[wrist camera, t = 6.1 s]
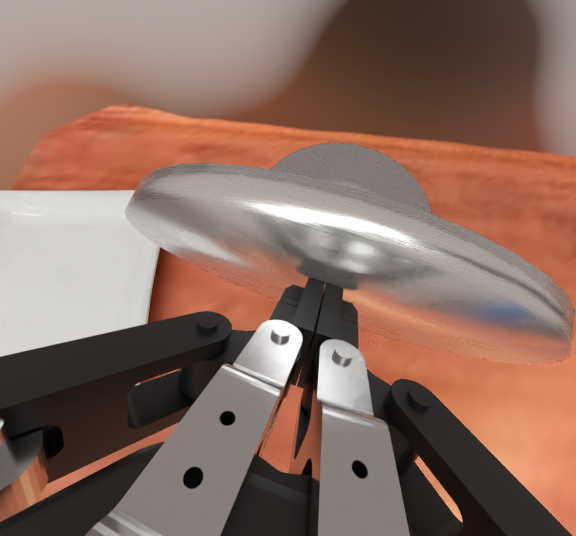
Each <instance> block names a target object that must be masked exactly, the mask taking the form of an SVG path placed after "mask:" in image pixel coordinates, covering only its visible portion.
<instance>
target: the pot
mask: <svg viewBox="0 0 576 536" xmlns="http://www.w3.org/2000/svg"><path fill="white" fill-rule="evenodd" d="M270 170H275V171H281V172H287V173H293V174H299V175H304V176H308V177H312V178H316V179H320V180H324V181H328V182H332V183H336V184H340V185H344V186H348V187H352V188H356V189H360V190H363V191H366V192H369V193H372V194H375V195H378V196H381V197H384V198H387V199H390V200H394V201H397V202H400V203H403V204H406V205H409V206H412V207H415V208H418V209H420V210H423V211H425V212H428V213H430V214H432V212H431V208H430V205H429V202H428V199H427V197H426V195H425V193H424V191H423V190H422V188H421V187H420V185H419V184H418V182H417V181H416V180H415V179H414V177H413V176H412V175H411V174H410V173H409V172H408V171H407V170H406V169H405V168H404V167H403V166H401V165H400V164H399V163H397V162H396V161H394V160H393V159H391V158H389V157H388V156H386V155H384V154H382V153H380V152H378V151H375V150H373V149H370V148H367V147H363V146H359V145H354V144H346V143H326V144H319V145H314V146H310V147H306V148H303V149H300V150H298V151H296V152H294V153H292V154H290V155H288V156H287V157H285V158H283V159H282V160H281V161H279V162H278V163H277V164H275V165H274V166H273V167H272V168H271V169H270Z"/></svg>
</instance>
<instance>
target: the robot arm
mask: <svg viewBox="0 0 576 536" xmlns="http://www.w3.org/2000/svg"><path fill="white" fill-rule="evenodd" d="M324 285H325V282H322V281H319V280H316V279H313V278H310V277H309V278H308V280H307V283H306V286H305V288H303V287H300V286H297V285H294V284H293V285H291V286H289V287H287V288H285V290H284V292H283V294H282V296H281V298H280V300H279V302H278V304H277V306H276V308H275V310H274V312H273V314H272V316H271V318H270V320H269V321H266V322H264V323H262V324H261V325H260V326H259V328H258V329H257V330H254V331H239V330H232V325H231V323H230V321H229V320H228V319H227V318H226V317H225V316H223V315H221V314H218V313H215V312H207V311H205V312H197V313H193V314H188V315H184V316H179V317H175V318H170V319H166V320H162V321H157V322H153V323H148V324H144V325H139V326H135V327H130V328H126V329H121V330H117V331H112V332H108V333H104V334H99V335H95V336H90V337H86V338H81V339H77V340H72V341H68V342H63V343H59V344H54V345H50V346H46V347H41V348H37V349H32V350H28V351H23V352H19V353H14V354H10V355H5V356H1V357H0V536H572V535H571V534H570V533H569V532H568V531H567V530H566V529H565V528H564V527H563V526H562V525H561V524H560V523H559V522H558V521H557V520H556V519H555V517H554V516H553V515H552V514H551V513H550V512H549V511H548V510H547V509H546V508H545V507H544V506H543V505H542V504H541V503H540V502H539V501H538V500H537V499H536V498H535V497H534V496H533V495H532V494H531V493H530V492H529V491H528V490H527V489H526V488H525V487H524V486H523V485H522V484H521V483H520V482H519V481H518V480H517V479H516V478H515V477H514V476H513V475H512V474H511V473H510V472H509V471H508V470H507V469H506V468H505V467H504V466H503V465H502V463H501V462H500V461H499V460H498V459H497V458H496V457H495V456H494V455H493V454H492V453H491V452H490V451H489V450H488V449H487V448H486V447H485V446H484V445H483V444H482V443H481V442H480V441H479V440H478V439H477V438H476V437H475V436H474V435H473V434H472V433H471V432H470V431H469V430H468V429H467V428H466V427H465V426H464V425H463V424H462V423H461V422H460V421H459V420H458V419H457V418H456V417H455V416H454V415H453V414H452V413H451V412H450V411H449V409H448V408H447V407H446V406H445V405H444V404H443V403H442V402H441V401H440V400H439V399H438V398H437V397H436V396H435V395H434V394H433V393H432V392H431V391H429V390H428V389H427V388H425V387H424V386H422V385H420V384H419V383H416V382H414V381H411V380H407V379H399V380H397V381H395V382H394V383H393V384H392V386H391V385H389V384H388V383H386V382H384V381H383V380H381V379H379V378H378V377H376V376H375V375H373V374H372V373H371V372H370V371H369V370H368V369H367V368H366V362H365V359H364V357H363V355H362V354H361V352H360V351H359V350H358V311H357V310H356V308H355V306H354V305H353V303H350V302H347V301H344V300H343V288H341V287H338V286H335V285H332V284H329V283H326V285H325V288H324ZM323 290H324V291H323ZM301 368H302V369H301ZM176 369H179V371H176V372H173V373H170V374H167V375H165V376H162V377H159V378H156V379H153V380H150V381H147V382H145V383H142V384H139V385H136V384H138V383H140V382H141V381H144V380H147V379H150V378H153V377H155V376H158V375H161V374H164V373H167V372H170V371H173V370H176ZM300 370H301V373H300ZM299 373H300V377H299V381H298V385H297V386H298V387H301V388H304V390H303V394H302V398H301V401H300V403H299V406H298V410H297V417H296V424H295V432H294V439H293V447H292V454H291V461H290V468H289V473H283V472H280V471H278V470H277V469H275V468H274V467H273V466H271V465H270V464H269V463H267V462H266V461H265V460H263V459H262V458H261V456H262V454H263V451H264V449H265V446H266V444H267V441H268V438H269V436H270V433H271V431H272V428H273V426H274V423H275V420H276V418H277V415H278V413H279V410H280V408H281V405H282V402H283V399H284V398H285V397H286V396H287V393H288V391H289V388H290V385H291V384H292V385H296V382H297V379H298V376H299ZM135 385H136V386H135ZM178 422H179V424H178V425H177V426H176V428H175V429H174V430H173V432H172V433H171V434H170V436H169V437H168V438H167V440H166V441H165V442H161V443H157V444H154V445H150V446H148V447H145V448H143V449H140V450H138V451H136V452H134V453H132V454H130V455H128V456H126V457H124V458H122V459H120V460H118V461H116V462H114V463H112V464H110V465H109V466H107V467H105V468H103V469H101V470H99V471H97V472H95V473H93V474H91V475H89V476H87V477H86V478H84V479H82V480H80V481H78V482H76V483H74V484H72V485H70V486H68V487H66V488H64V489H63V490H61V491H59V492H57V493H55V494H53V495H51V496H49V497H47V498H45V499H43V500H41V501H40V502H38V503H36V504H34V505H32V504H33V503H34V502H35V501H36V500H37V498H38V497H39V496H40V494H41V493H42V491H43V490H44V488H45V486H46V484H48V483H50V482H52V481H54V480H56V479H59V478H61V477H63V476H65V475H67V474H69V473H71V472H74V471H76V470H78V469H80V468H82V467H84V466H86V465H88V464H91V463H93V462H95V461H97V460H99V459H101V458H103V457H105V456H108V455H110V454H112V453H114V452H116V451H118V450H120V449H123V448H125V447H127V446H129V445H131V444H133V443H135V442H137V441H140V440H142V439H144V438H146V437H148V436H150V435H152V434H155V433H157V432H159V431H161V430H163V429H165V428H167V427H169V426H172V425H174V424H176V423H178ZM418 456H420V458H421V459H422V460H423V462H424V463H425V464H426V466H427V467H428V468H429V469H430V471H431V472H432V473H433V475H434V476H435V477H436V479H437V480H438V481H439V482H440V484H441V485H442V486H443V488H444V489H445V490H446V491H447V493H448V494H449V495H450V497H451V498H452V499H453V501H454V502H455V503H456V505H457V507H458V508H459V510H460V513H461V515H462V519H463V523H462V522H461V521H459V520H458V519H457V518H456V517H455V516H454V514H453V513H452V512H451V510H450V509H449V508H448V506H447V505H446V504H445V502H444V501H443V500H442V498H441V497H440V496H439V494H438V493H437V492H436V490H435V489H434V488H433V486H432V485H431V484H430V482H429V481H428V480H427V478H426V477H425V475H424V474H423V473H422V471H421V470H420V469H419V467H418V466H417V465H416V463H415V462H414V461H415V460H416V459H417V457H418ZM31 505H32V506H31Z"/></svg>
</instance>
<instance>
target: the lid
mask: <svg viewBox="0 0 576 536" xmlns="http://www.w3.org/2000/svg"><path fill="white" fill-rule="evenodd" d="M125 215H126V218H127V219H128V221H129V222H130V224H131V225H132V226H133V227H134V228H135V229H136V230H137V231H138V232H140V233H141V234H142V235H144V236H145V237H146V238H147V239H149V240H150V241H152V242H153V243H155V244H156V245H158V246H160V247H161V248H163V249H164V250H166V251H168V252H170V253H171V254H173V255H175V256H177V257H179V258H180V259H182V260H184V261H186V262H188V263H190V264H192V265H194V266H196V267H198V268H200V269H202V270H204V271H206V272H208V273H210V274H213V275H215V276H217V277H219V278H221V279H224V280H226V281H228V282H230V283H233V284H235V285H237V286H240V287H242V288H245V289H247V290H249V291H252V292H254V293H257V294H259V295H262V296H264V297H267V298H269V299H272V300H275V301H277V302H279V300H280V298H281V296H282V294H283V292H284V290H285V288H287V287H289V286H291V285H293V284H294V285H297V286H300V287H303V288H305V286H306V283H307V280H308V278H309V277H310V278H313V279H316V280H319V281H322V282H325V285H326V283H329V284H332V285H335V286H338V287H341V288H343V300H344V301H347V302H350V303H353V305H354V306H355V308H356V310H357V311H358V329H360V330H363V331H366V332H370V333H373V334H377V335H380V336H384V337H387V338H391V339H395V340H398V341H402V342H406V343H410V344H414V345H418V346H422V347H426V348H430V349H434V350H439V351H443V352H448V353H453V354H457V355H462V356H468V357H473V358H479V359H485V360H492V361H498V362H507V363H516V364H552V363H557V362H562V361H563V360H565V359H566V358H568V357H569V356H570V349H571V340H572V331H573V322H574V313H575V309H574V307H573V305H572V303H571V301H570V299H569V297H568V295H567V294H566V293H565V292H564V291H563V290H562V289H561V288H560V287H559V286H558V285H557V284H556V283H555V282H554V281H553V280H552V279H551V278H550V277H549V276H548V275H546V274H545V273H544V272H542V271H541V270H539V269H538V268H536V267H535V266H533V265H532V264H530V263H529V262H527V261H526V260H525V259H523V258H522V257H520V256H519V255H517V254H516V253H514V252H512V251H510V250H508V249H506V248H504V247H502V246H500V245H498V244H496V243H494V242H492V241H491V240H489V239H487V238H485V237H483V236H481V235H479V234H477V233H475V232H473V231H471V230H469V229H466V228H464V227H462V226H459V225H457V224H454V223H452V222H449V221H447V220H445V219H442V218H440V217H437V216H435V215H432V214H430V213H428V212H425V211H423V210H420V209H418V208H415V207H412V206H409V205H406V204H403V203H400V202H397V201H394V200H390V199H387V198H384V197H381V196H378V195H375V194H372V193H369V192H366V191H363V190H360V189H356V188H352V187H348V186H344V185H340V184H336V183H332V182H328V181H324V180H320V179H316V178H312V177H308V176H304V175H299V174H293V173H287V172H281V171H275V170H269V169H263V168H257V167H251V166H240V165H227V164H213V163H200V164H178V165H173V166H169V167H164V168H160V169H156V170H154V171H152V172H151V173H149V174H147V175H145V176H144V177H143V178H142V180H141V181H140V183H139V184H138V186H137V188H136V190H135V192H134V194H133V196H132V197H131V199H130V201H129V203H128V205H127V207H126V209H125ZM325 285H324V288H325ZM323 291H324V290H323Z"/></svg>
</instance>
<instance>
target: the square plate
mask: <svg viewBox="0 0 576 536" xmlns="http://www.w3.org/2000/svg"><path fill="white" fill-rule="evenodd" d="M134 192H135V190H95V191H94V190H86V191H12V190H11V191H0V357H1V356H5V355H10V354H14V353H19V352H23V351H28V350H32V349H37V348H41V347H46V346H50V345H54V344H59V343H63V342H68V341H72V340H77V339H81V338H86V337H90V336H95V335H99V334H104V333H108V332H112V331H117V330H121V329H126V328H130V327H135V326H139V325H144V324H147V323H148V317H149V308H150V300H151V294H152V287H153V282H154V277H155V272H156V266H157V261H158V256H159V252H160V246H158V245H156V244H155V243H153V242H152V241H150V240H149V239H147V238H146V237H145V236H144V235H142V234H141V233H140V232H138V231H137V230H136V229H135V228H134V227H133V226H132V225H131V224H130V222H129V221H128V219H127V218H126V215H125V209H126V207H127V205H128V203H129V201H130V199H131V197H132V196H133V194H134ZM139 384H140V383H138V384H136V385H139ZM136 385H135V386H136Z"/></svg>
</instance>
